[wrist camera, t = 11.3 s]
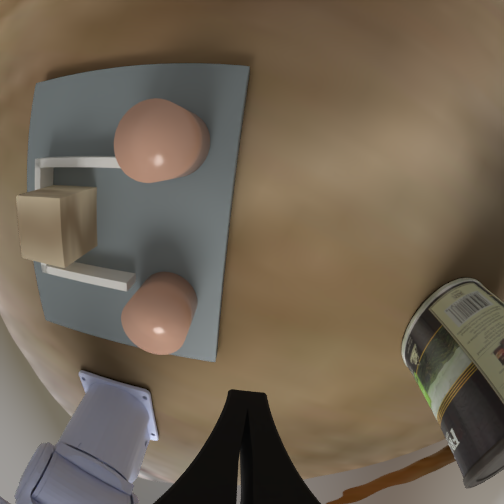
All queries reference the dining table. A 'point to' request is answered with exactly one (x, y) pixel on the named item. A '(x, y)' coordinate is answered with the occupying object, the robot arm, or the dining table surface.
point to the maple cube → (57, 223)
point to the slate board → (142, 192)
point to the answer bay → (76, 270)
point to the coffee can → (462, 372)
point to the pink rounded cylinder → (160, 313)
